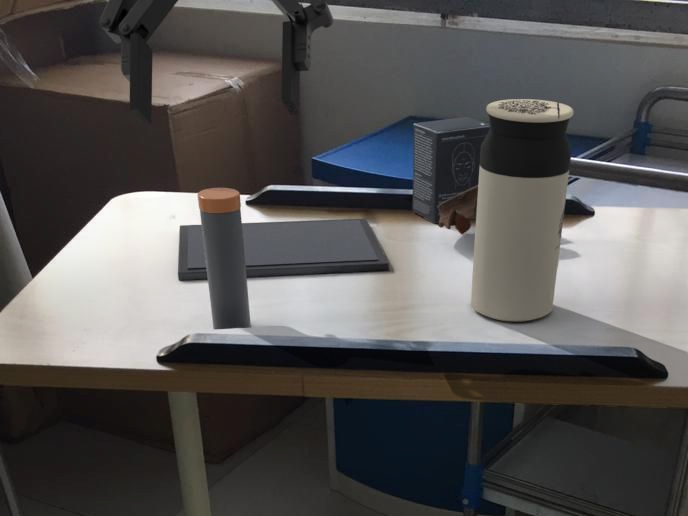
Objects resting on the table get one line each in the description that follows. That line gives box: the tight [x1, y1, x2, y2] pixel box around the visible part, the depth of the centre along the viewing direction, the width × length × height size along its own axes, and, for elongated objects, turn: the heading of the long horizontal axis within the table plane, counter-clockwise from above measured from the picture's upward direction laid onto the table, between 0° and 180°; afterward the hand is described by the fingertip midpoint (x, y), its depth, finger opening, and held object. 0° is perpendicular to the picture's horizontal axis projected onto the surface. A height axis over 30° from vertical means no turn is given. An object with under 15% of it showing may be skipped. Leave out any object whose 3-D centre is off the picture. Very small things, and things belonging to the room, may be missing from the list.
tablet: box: [177, 217, 390, 281], centre depth 99 cm, size 22×16×1 cm
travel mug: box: [470, 98, 575, 323], centre depth 81 cm, size 8×8×18 cm
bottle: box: [197, 187, 252, 330], centre depth 78 cm, size 4×4×12 cm
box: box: [412, 116, 490, 224], centre depth 108 cm, size 8×6×11 cm
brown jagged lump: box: [437, 185, 478, 235], centre depth 101 cm, size 12×10×8 cm
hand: (214, 112), depth 77 cm, fingers open, 13 cm apart
